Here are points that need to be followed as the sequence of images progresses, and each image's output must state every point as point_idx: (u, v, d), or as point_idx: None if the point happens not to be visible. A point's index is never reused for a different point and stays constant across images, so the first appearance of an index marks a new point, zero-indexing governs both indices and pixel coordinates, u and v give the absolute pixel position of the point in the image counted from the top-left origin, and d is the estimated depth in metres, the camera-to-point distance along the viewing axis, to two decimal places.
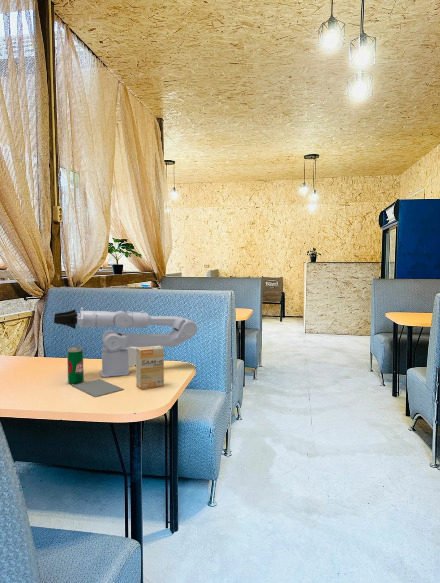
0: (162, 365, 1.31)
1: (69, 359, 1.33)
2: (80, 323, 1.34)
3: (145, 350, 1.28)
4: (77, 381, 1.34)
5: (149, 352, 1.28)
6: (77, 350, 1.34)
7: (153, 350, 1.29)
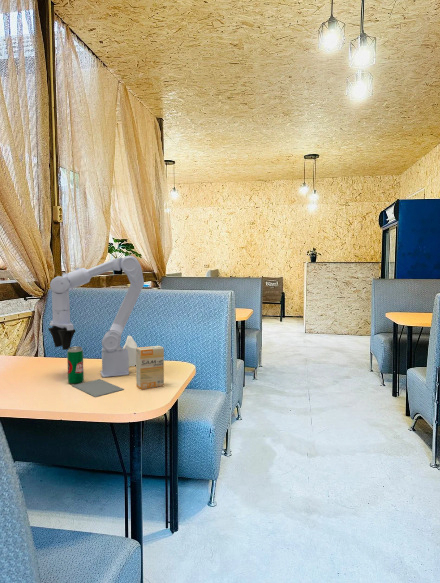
0: (162, 365, 1.31)
1: (69, 359, 1.33)
2: (72, 327, 1.37)
3: (145, 350, 1.28)
4: (77, 381, 1.34)
5: (149, 351, 1.28)
6: (77, 350, 1.34)
7: (153, 350, 1.29)
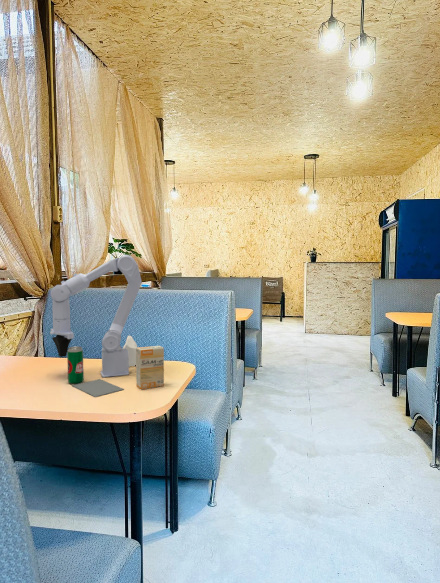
0: (162, 365, 1.31)
1: (69, 359, 1.33)
2: (72, 335, 1.37)
3: (145, 350, 1.28)
4: (77, 381, 1.34)
5: (149, 351, 1.28)
6: (77, 350, 1.34)
7: (153, 350, 1.29)
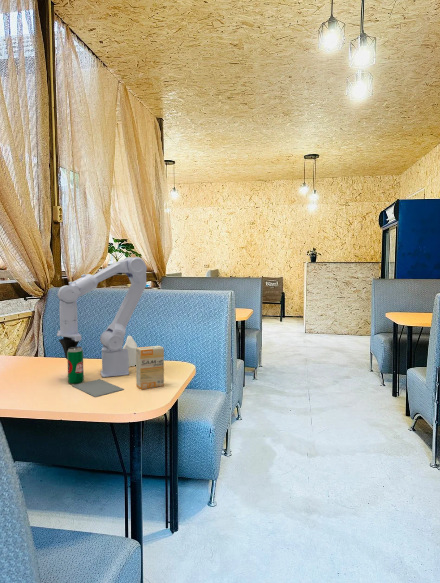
0: (162, 365, 1.31)
1: (69, 359, 1.33)
2: (80, 337, 1.33)
3: (145, 350, 1.28)
4: (77, 381, 1.34)
5: (149, 351, 1.28)
6: (77, 350, 1.34)
7: (153, 350, 1.29)
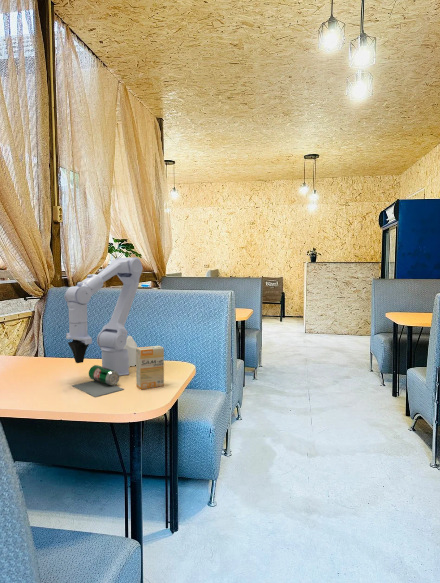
0: (162, 365, 1.31)
1: (110, 369, 1.33)
2: (90, 340, 1.28)
3: (145, 350, 1.28)
4: (91, 367, 1.37)
5: (149, 351, 1.28)
6: (108, 374, 1.30)
7: (153, 350, 1.29)
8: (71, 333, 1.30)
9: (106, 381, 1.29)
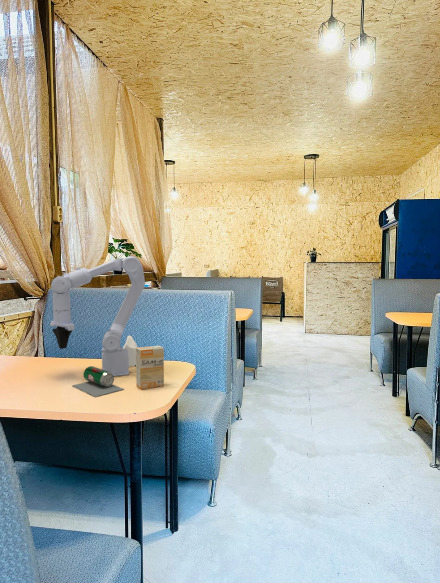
0: (162, 365, 1.31)
1: (100, 371, 1.31)
2: (73, 327, 1.37)
3: (145, 350, 1.28)
4: (84, 373, 1.35)
5: (149, 352, 1.28)
6: (101, 381, 1.28)
7: (153, 350, 1.29)
8: (55, 320, 1.39)
9: (104, 386, 1.29)
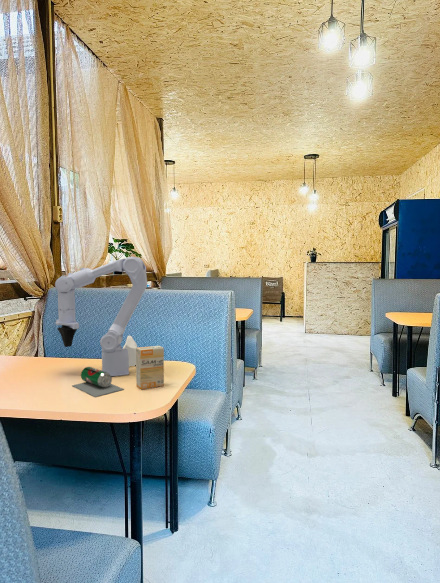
0: (162, 365, 1.31)
1: (95, 374, 1.29)
2: (78, 325, 1.40)
3: (145, 350, 1.28)
4: (81, 377, 1.34)
5: (149, 351, 1.28)
6: (99, 384, 1.27)
7: (153, 350, 1.29)
8: (60, 319, 1.42)
9: (103, 387, 1.29)
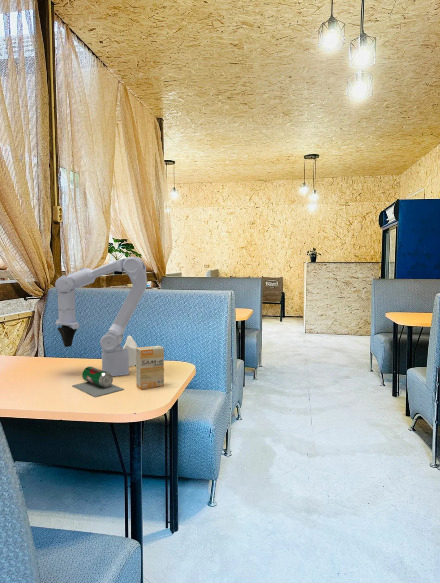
0: (162, 365, 1.31)
1: (97, 372, 1.30)
2: (78, 325, 1.40)
3: (145, 350, 1.28)
4: (82, 375, 1.34)
5: (149, 351, 1.28)
6: (100, 382, 1.27)
7: (153, 350, 1.29)
8: (60, 319, 1.42)
9: (103, 387, 1.29)
